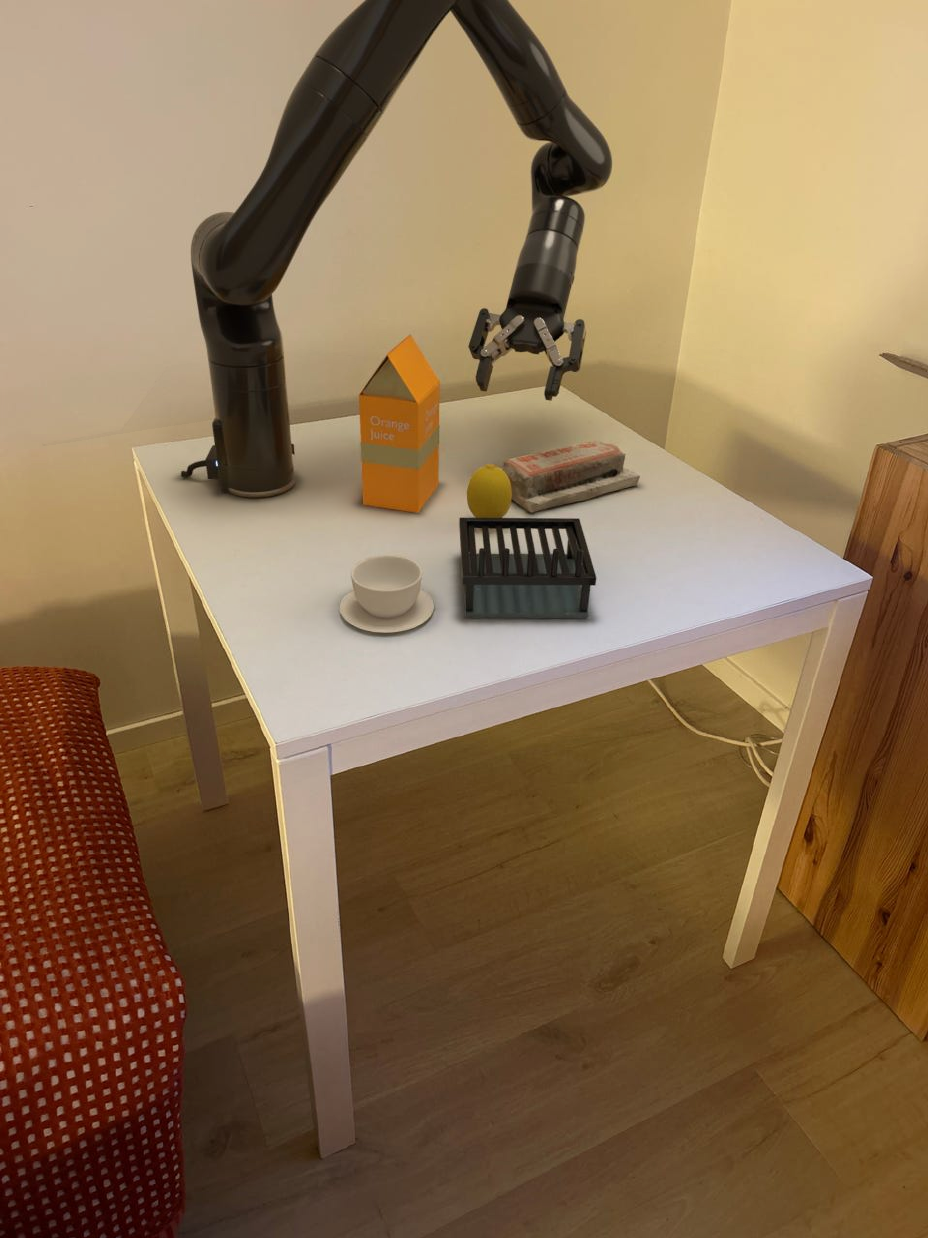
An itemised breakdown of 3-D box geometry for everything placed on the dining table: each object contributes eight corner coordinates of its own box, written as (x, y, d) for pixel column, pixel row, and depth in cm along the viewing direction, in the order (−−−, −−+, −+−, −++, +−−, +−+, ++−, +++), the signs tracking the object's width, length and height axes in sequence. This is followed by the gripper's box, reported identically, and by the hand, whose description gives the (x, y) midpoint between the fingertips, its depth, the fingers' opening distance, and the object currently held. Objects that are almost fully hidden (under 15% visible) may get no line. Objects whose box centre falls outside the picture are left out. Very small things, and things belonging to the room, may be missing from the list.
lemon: (515, 518, 117) (519, 459, 113) (502, 537, 113) (505, 477, 109) (474, 510, 119) (476, 452, 114) (459, 529, 114) (461, 469, 110)
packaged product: (533, 480, 115) (490, 452, 122) (530, 515, 118) (488, 486, 125) (644, 453, 123) (597, 428, 130) (639, 486, 126) (594, 460, 133)
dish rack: (461, 619, 98) (463, 551, 93) (458, 556, 109) (459, 493, 104) (591, 619, 98) (599, 551, 94) (575, 557, 109) (582, 494, 105)
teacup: (451, 618, 98) (452, 580, 95) (367, 646, 93) (366, 607, 91) (404, 576, 105) (403, 540, 102) (324, 600, 100) (321, 563, 97)
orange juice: (439, 485, 125) (441, 336, 114) (419, 513, 118) (418, 357, 107) (384, 477, 127) (381, 329, 116) (361, 504, 119) (355, 350, 108)
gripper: (485, 255, 117) (454, 371, 115) (596, 266, 114) (567, 386, 111) (495, 288, 124) (466, 399, 122) (600, 299, 121) (573, 413, 118)
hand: (514, 393), depth 116 cm, fingers open, 8 cm apart
